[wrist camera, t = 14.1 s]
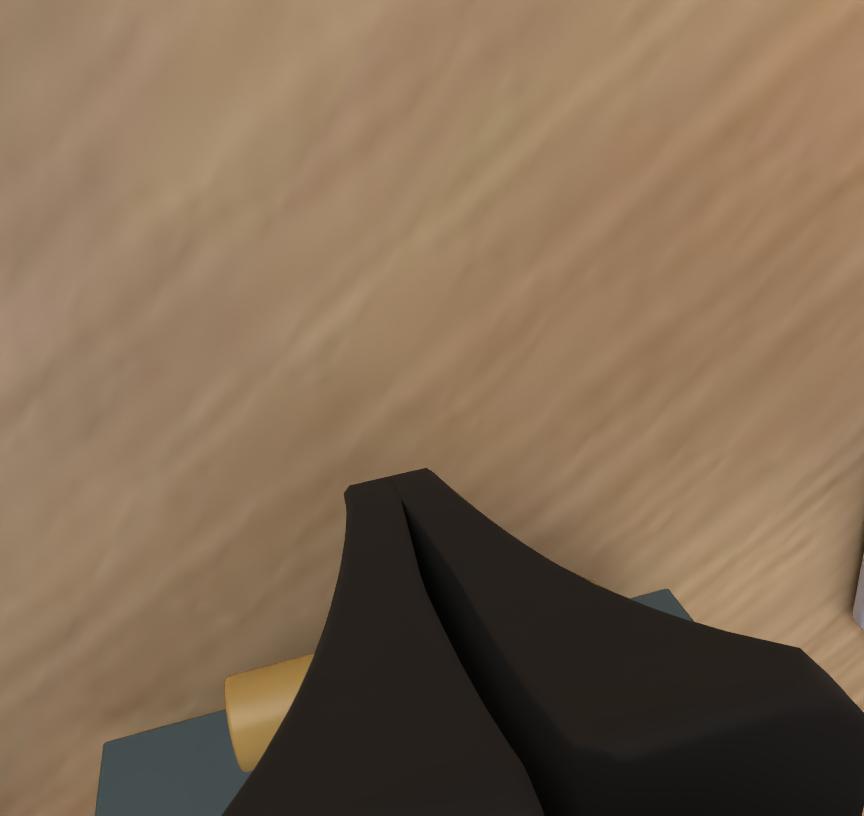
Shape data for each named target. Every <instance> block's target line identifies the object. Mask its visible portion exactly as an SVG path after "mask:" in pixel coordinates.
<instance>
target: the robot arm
mask: <svg viewBox="0 0 864 816" xmlns="http://www.w3.org/2000/svg"><path fill="white" fill-rule="evenodd" d="M344 498H345V503H346V511H347V519H346V533H345V542H344V548H343V554H342V561H341V567H340V572H339V576H338V580H337V584H336V588H335V592H334V596H333V600H332V604H331V607H330V611H329V614H328V617H327V620H326V624H325V627H324V630H323V632H322V635H321V638H320V641H319V643H318V646H317V649H316V651H315V654H314V656H313V659H312V661H311V663H310V666H309V668H308V670H307V672H306V675H305V677H304V679H303V681H302V684H301V686H300V688H299V690H298V692H297V694H296V696H295V699H294V701H293V703H292V705H291V706H290V708H289V710H288V712H287V714H286V716H285V717H284V719H283V721H282V723H281V724H280V726H279V728H278V730H277V731H276V733H275V735H274V736H273V738H272V740H271V742H270V743H269V745H268V747H267V749H266V750H265V752H264V754H263V756H262V757H261V759H260V760H259V762H258V763H257V765H256V767H255V768H254V770H253V771H252V773H251V774H250V775H249V777H248V778H247V780H246V781H245V782H244V784H243V785H242V787H241V788H240V790H239V791H238V792H237V794H236V795H235V797H234V798H233V799H232V801H231V802H230V804H229V805H228V806H227V808H226V809H225V811H224V812H223V814H222V815H221V816H862V812H863V807H864V713H863V711H862V710H861V709H860V708H859V707H858V706H857V705H856V704H855V703H854V702H853V701H852V700H851V698H850V697H849V696H848V695H847V694H846V693H845V692H844V691H843V689H842V688H841V687H840V686H839V685H838V684H837V683H836V682H835V681H834V680H833V679H832V678H831V677H830V676H829V675H828V674H827V673H826V672H825V671H824V670H823V669H822V668H821V667H820V666H819V665H818V664H816V663H815V662H814V661H813V660H812V659H811V658H810V657H809V656H808V655H807V654H806V653H805V652H804V651H803V650H801V649H800V648H797V647H793V646H788V645H784V644H779V643H775V642H771V641H766V640H762V639H757V638H753V637H748V636H744V635H740V634H735V633H731V632H727V631H723V630H719V629H716V628H713V627H709V626H706V625H703V624H700V623H696V622H693V621H690V620H686V619H683V618H680V617H677V616H674V615H671V614H668V613H665V612H662V611H660V610H657V609H654V608H651V607H649V606H646V605H644V604H641V603H639V602H636V601H634V600H631V599H629V598H626V597H624V596H621V595H619V594H616V593H614V592H612V591H610V590H607V589H605V588H603V587H601V586H598V585H596V584H594V583H592V582H590V581H588V580H586V579H584V578H582V577H580V576H578V575H576V574H575V573H573V572H571V571H569V570H567V569H565V568H563V567H561V566H559V565H557V564H556V563H554V562H552V561H550V560H549V559H547V558H545V557H544V556H542V555H541V554H539V553H538V552H536V551H534V550H533V549H531V548H530V547H528V546H527V545H525V544H523V543H522V542H521V541H519V540H518V539H516V538H515V537H513V536H512V535H510V534H509V533H508V532H506V531H505V530H503V529H502V528H501V527H499V526H498V525H497V524H495V523H494V522H493V521H491V520H490V519H489V518H487V517H486V516H484V515H483V514H482V513H481V512H479V511H478V510H477V509H476V508H474V507H473V506H472V505H471V504H469V503H468V502H467V501H466V500H464V499H463V498H462V497H461V496H460V495H458V494H457V493H456V492H455V491H454V490H453V489H451V488H450V487H449V486H448V485H447V484H446V483H445V482H443V481H442V480H441V479H440V478H439V477H438V476H437V475H436V474H435V473H433V472H432V471H430V470H429V469H427V468H424V469H420V470H415V471H411V472H407V473H402V474H398V475H394V476H389V477H385V478H381V479H376V480H372V481H368V482H363V483H359V484H355V485H350V486H349V487H348V489H347V490H346V491H345V492H344ZM852 616H853V620H854V622H855V623H856V624H857V625H858V626H859V627H860V628H861V629H862V630H864V553H863V559H862V564H861V570H860V575H859V581H858V586H857V592H856V597H855V603H854V608H853V614H852Z"/></svg>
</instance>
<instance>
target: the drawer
mask: <svg viewBox="0 0 864 816" xmlns="http://www.w3.org/2000/svg"><path fill="white" fill-rule="evenodd" d="M588 581H590V582H592V583H594V584H596V585H598V584H597V583H596V582H594V581H591V580H588ZM598 586H599V585H598ZM630 599H631V600H634V601H636V602H639V603H641V604H644V605H646V606H649V607H651V608H654V609H657V610H660V611H662V612H665V613H668V614H671V615H674V616H677V617H680V618H683V619H686V620H690V621H693V619H692V618H691V617H690V616H689V614H688V613H687V612H686V611H685V609H684V608H683V607H682V606H681V604H680V603H679V602H678V601H677V599H676V598H675V597H674V595H673V594H672V593H671V592H670V590H668V589H663V590H659V591H656V592H652V593H648V594H645V595H641V596H637V597H634V598H630ZM693 622H694V621H693ZM314 654H315V653H313V654H310V655H306V656H302V657H298V658H295V659H291V660H287V661H283V662H280V663H276V664H272V665H268V666H265V667H261V668H257V669H254V670H250V671H246V672H242V673H239V674H235V675H231V676H229V677H228V678H226V681H225V706H226V709H225V710H222V711H218V712H214V713H211V714H207V715H204V716H200V717H196V718H193V719H189V720H185V721H182V722H178V723H174V724H171V725H167V726H163V727H160V728H156V729H152V730H149V731H145V732H142V733H138V734H134V735H131V736H127V737H123V738H120V739H116V740H112V741H109V742H106V743H105V744H104V746H103V753H102V761H101V769H100V778H99V786H98V794H97V802H96V810H95V816H221V815H222V814H223V812H224V811H225V809H226V808H227V806H228V805H229V804H230V802H231V801H232V799H233V798H234V797H235V795H236V794H237V792H238V791H239V790H240V788H241V787H242V785H243V784H244V782H245V781H246V780H247V778H248V777H249V775H250V774H251V773H252V771H253V770H254V768H255V767H256V765H257V763H258V762H259V760H260V759H261V757H262V756H263V754H264V752H265V750H266V749H267V747H268V745H269V743H270V742H271V740H272V738H273V736H274V735H275V733H276V731H277V730H278V728H279V726H280V724H281V723H282V721H283V719H284V717H285V716H286V714H287V712H288V710H289V708H290V706H291V705H292V703H293V701H294V699H295V696H296V694H297V692H298V690H299V688H300V686H301V684H302V681H303V679H304V677H305V675H306V672H307V670H308V668H309V666H310V663H311V661H312V659H313V656H314Z"/></svg>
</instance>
